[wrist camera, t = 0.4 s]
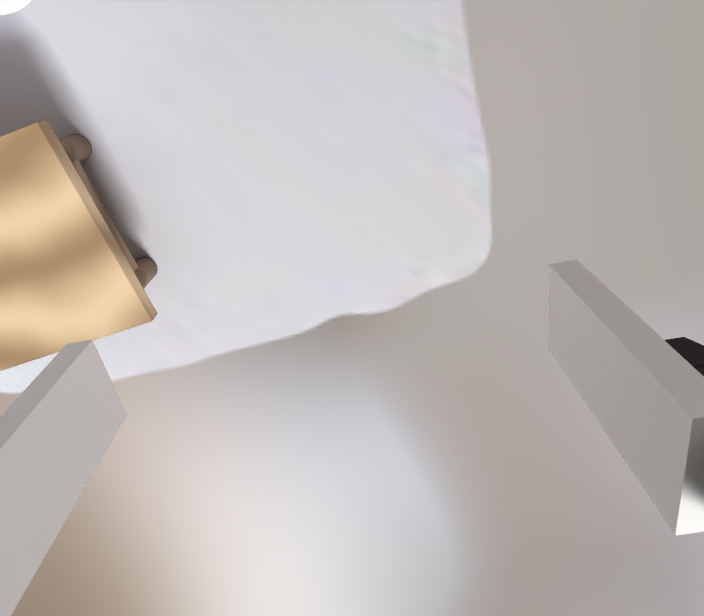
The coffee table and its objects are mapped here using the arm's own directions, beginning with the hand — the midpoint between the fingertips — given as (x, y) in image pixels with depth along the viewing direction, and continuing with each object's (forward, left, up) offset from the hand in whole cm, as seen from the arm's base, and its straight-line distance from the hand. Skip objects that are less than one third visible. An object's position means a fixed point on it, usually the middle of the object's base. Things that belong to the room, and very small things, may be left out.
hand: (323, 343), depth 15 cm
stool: (-2, -22, -27) cm, 35 cm away
